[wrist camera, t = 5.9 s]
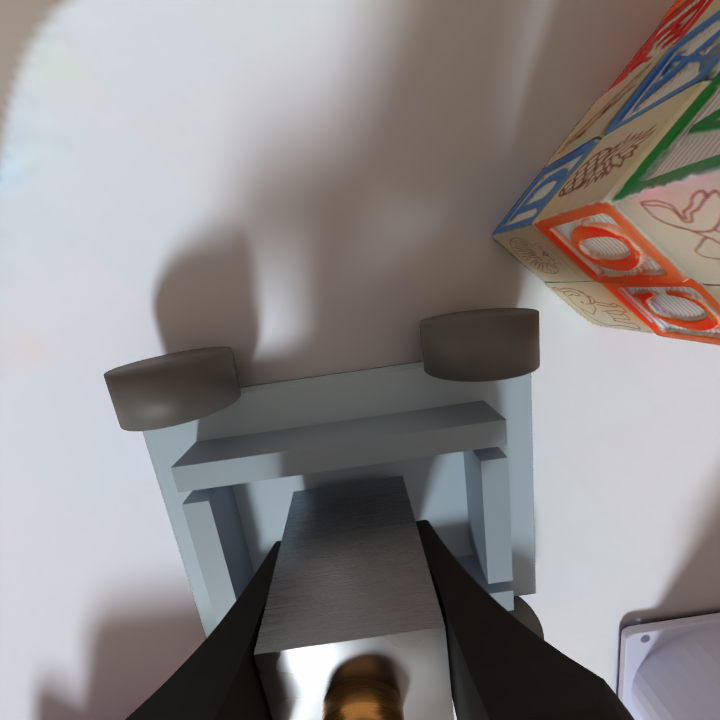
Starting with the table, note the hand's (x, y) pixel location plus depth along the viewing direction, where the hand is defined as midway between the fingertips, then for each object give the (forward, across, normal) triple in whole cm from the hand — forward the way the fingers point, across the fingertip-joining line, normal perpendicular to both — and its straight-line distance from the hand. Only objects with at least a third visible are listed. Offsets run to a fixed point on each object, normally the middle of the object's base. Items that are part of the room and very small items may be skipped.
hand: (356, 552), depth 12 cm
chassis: (+3, 0, 0) cm, 3 cm away
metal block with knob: (+2, 0, 0) cm, 2 cm away
